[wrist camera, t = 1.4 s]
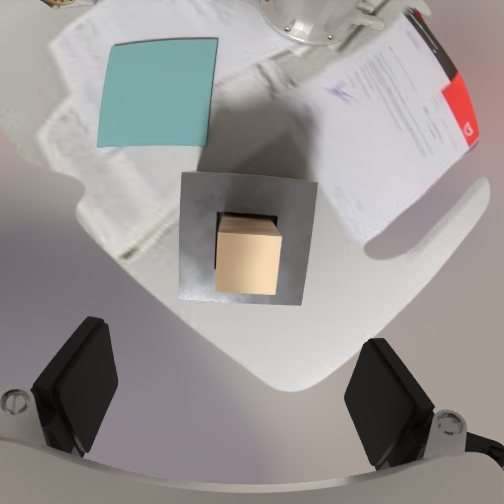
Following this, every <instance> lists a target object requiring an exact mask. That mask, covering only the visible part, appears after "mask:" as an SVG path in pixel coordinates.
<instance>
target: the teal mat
mask: <svg viewBox="0 0 504 504" xmlns="http://www.w3.org/2000/svg"><path fill="white" fill-rule="evenodd" d="M217 42H218V40H217V39H187V40H166V41H153V42H143V43H134V44H127V45H120V46H113V47H111V51H110V55H109V60H108V65H107V71H106V76H105V82H104V88H103V95H102V102H101V110H100V119H99V128H98V140H97V147H114V146H146V145H179V146H206V144H207V132H208V121H209V110H210V100H211V91H212V82H213V73H214V65H215V57H216V50H217Z"/></svg>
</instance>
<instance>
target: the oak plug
mask: <svg viewBox="0 0 504 504" xmlns="http://www.w3.org/2000/svg"><path fill="white" fill-rule="evenodd" d="M281 241H282V236H281V234H280V233H279V231H278V230H277V228H276V226H275V225H274V223H273V222H272V220H271V219H270V217H269V216H268V215H263V214H249V213H235V212H224V213H223V216H222V220H221V223H220V227H219V230H218V239H217V259H216V283H215V292H229V293H247V294H266V295H275V293H276V285H277V276H278V268H279V259H280V250H281Z"/></svg>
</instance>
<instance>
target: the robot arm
mask: <svg viewBox="0 0 504 504" xmlns="http://www.w3.org/2000/svg"><path fill="white" fill-rule="evenodd" d="M260 6H261V11H262V14H263V17H264V18H265V20H266V21H267V23H268V24H269V25H270V26H271V27H272V28H273V29H274V30H275V31H277V32H278V33H279V34H281V35H283V36H284V37H286V38H288V39H290V40H293V41H295V42H298V43H302V44H306V45H313V46H326V45H331V44H335V43H337V42H340V41H341V40H343V39H344V38H346V37H347V36H348V35H349V34H350V32H351V31H352V29H353V28H354V25H357V26H359V25H360V24H362V25H365V26H368V27H370V28H373V29H376V30H379V31H381V30H383V28H384V20H383V19H381V18H378V17H375V16H372V15H367V14H364V13H363V12H362V10H364V11H367V12H370V13H372V12H373V11H374V5H372V4H369V3H366V2H362V0H261V1H260ZM357 8H359V9H362V10H359V9H357ZM286 31H288V32H286ZM328 38H329V39H328ZM117 386H118V377H117V372H116V367H115V362H114V357H113V351H112V346H111V339H110V333H109V327H108V324H106V323H104V320H103V319H101V318H96V317H90V316H89V317H87V318H86V319H85V320H84V321H83V322H82V324H81V325H80V326H79V327H78V328H77V329H76V331H75V332H74V333H73V334H72V335H71V337H70V338H69V339H68V340H67V342H66V343H65V344H64V345H63V346H62V348H61V349H60V350H59V351H58V353H57V354H56V355H55V356H54V358H53V359H52V360H51V362H50V363H49V364H48V365H47V367H46V368H45V369H44V371H43V372H42V373H41V374H40V376H39V377H38V378H37V380H36V381H35V382H34V384H33V387H32V388H31V390H29V389H27V388H25V387H23V386H11V387H8V388H6V389H4V390H3V391H2V392H1V393H0V504H504V446H503V445H502V444H500V443H499V442H496V441H494V440H490V439H487V438H484V437H481V436H478V435H475V434H472V433H469V432H467V425H466V422H465V420H464V418H463V417H462V416H461V415H459V414H458V413H457V412H454V411H451V410H441V411H438V412H437V413H436V414H434V412H433V409H434V408H435V406H434V404H433V403H432V402H431V400H430V399H429V397H428V396H427V395H426V393H425V392H424V391H423V389H422V388H421V386H420V385H419V384H418V382H417V381H416V379H415V378H414V377H413V375H412V374H411V373H410V372H409V370H408V369H407V367H406V366H405V365H404V363H403V362H402V361H401V359H400V358H399V357H398V355H397V354H396V353H395V352H394V350H393V349H392V348H391V346H390V345H389V344H388V342H387V341H386V340H385V339H384V338H370V339H369V340H368V341H367V342H365V343H364V344H363V347H362V349H361V352H360V355H359V358H358V361H357V363H356V366H355V369H354V372H353V374H352V377H351V379H350V382H349V384H348V387H347V389H346V392H345V395H344V400H345V403H346V406H347V408H348V411H349V413H350V416H351V418H352V420H353V422H354V425H355V428H356V430H357V432H358V435H359V437H360V440H361V442H362V444H363V447H364V450H365V452H366V455H367V457H368V460H369V462H370V464H371V465H372V466H375V468H376V471H374V472H370V473H365V474H360V475H355V476H349V477H344V478H337V479H330V480H323V481H315V482H306V483H305V482H304V483H292V484H274V485H233V484H215V483H202V482H192V481H184V480H176V479H169V478H163V477H157V476H152V475H147V474H142V473H137V472H133V471H128V470H124V469H120V468H116V467H112V466H109V465H105V464H101V463H98V462H94V461H91V460H88V459H84V458H83V456H84V454H85V452H86V453H88V452H89V451H90V449H91V447H92V445H93V442H94V440H95V437H96V435H97V432H98V430H99V428H100V425H101V423H102V421H103V418H104V416H105V414H106V411H107V409H108V406H109V404H110V402H111V400H112V398H113V396H114V393H115V391H116V389H117Z"/></svg>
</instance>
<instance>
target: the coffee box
mask: <svg viewBox="0 0 504 504" xmlns="http://www.w3.org/2000/svg"><path fill="white" fill-rule="evenodd" d="M41 1H43V2H44V3H46V4H47V5H48V6H50V7H51V8H53V9H61V8H68V7H75V6H84V5H94V4H95V2H96V1H97V0H41Z"/></svg>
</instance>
